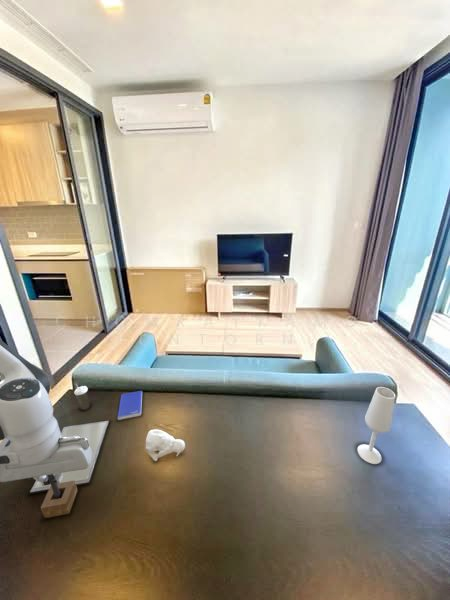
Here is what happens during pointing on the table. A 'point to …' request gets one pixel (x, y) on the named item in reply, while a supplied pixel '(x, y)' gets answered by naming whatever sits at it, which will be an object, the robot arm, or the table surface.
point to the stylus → (54, 486)
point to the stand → (59, 500)
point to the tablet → (95, 440)
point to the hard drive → (130, 405)
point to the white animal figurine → (162, 444)
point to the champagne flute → (378, 422)
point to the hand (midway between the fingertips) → (53, 481)
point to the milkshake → (82, 397)
